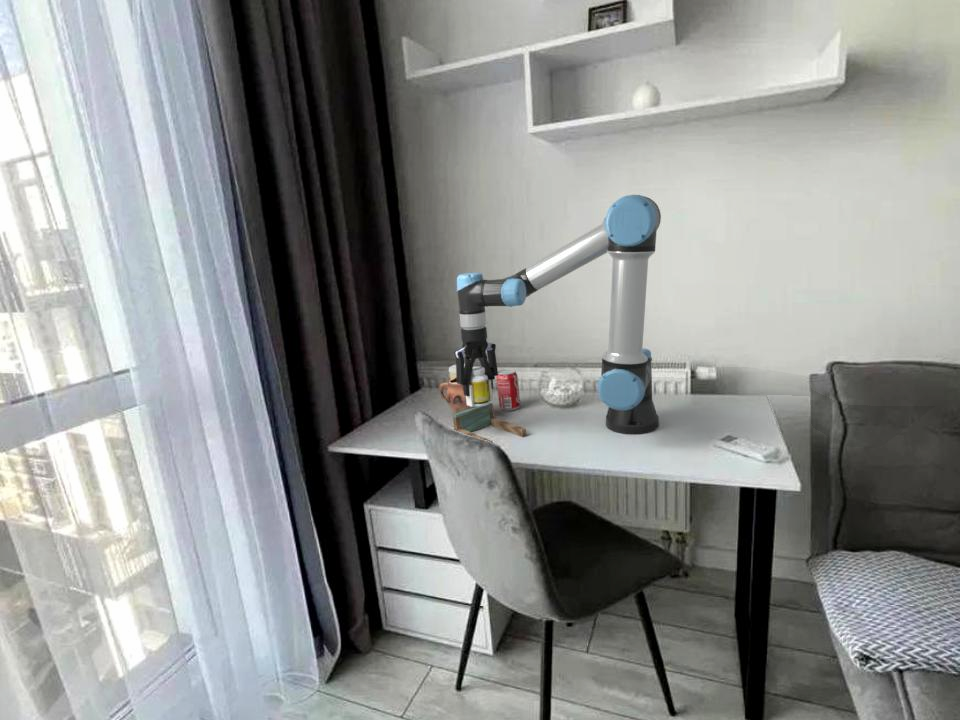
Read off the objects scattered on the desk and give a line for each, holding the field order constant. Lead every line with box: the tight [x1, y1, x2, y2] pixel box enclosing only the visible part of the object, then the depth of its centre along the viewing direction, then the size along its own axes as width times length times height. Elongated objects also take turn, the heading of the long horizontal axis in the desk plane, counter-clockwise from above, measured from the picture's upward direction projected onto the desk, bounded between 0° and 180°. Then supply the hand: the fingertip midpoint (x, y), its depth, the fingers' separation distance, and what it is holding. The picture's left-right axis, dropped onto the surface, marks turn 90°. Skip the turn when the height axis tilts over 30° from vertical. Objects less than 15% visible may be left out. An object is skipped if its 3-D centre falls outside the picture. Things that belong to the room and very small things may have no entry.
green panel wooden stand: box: [452, 402, 527, 443], centre depth 164 cm, size 17×14×7 cm
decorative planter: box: [438, 378, 474, 415], centre depth 180 cm, size 20×12×14 cm, turn 63°
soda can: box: [496, 368, 521, 412], centre depth 187 cm, size 7×7×13 cm
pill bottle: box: [470, 366, 491, 407], centre depth 164 cm, size 6×6×11 cm
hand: (479, 402), depth 166 cm, fingers closed on pill bottle, 6 cm apart
